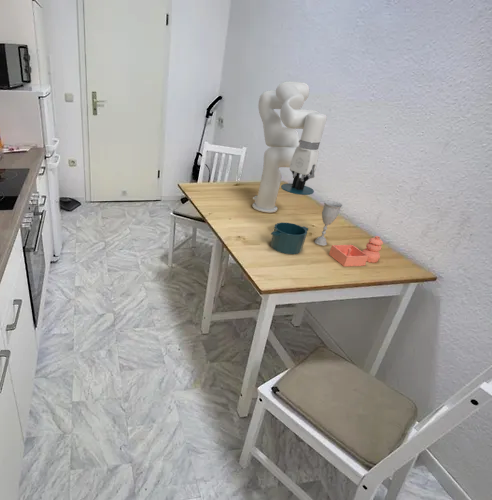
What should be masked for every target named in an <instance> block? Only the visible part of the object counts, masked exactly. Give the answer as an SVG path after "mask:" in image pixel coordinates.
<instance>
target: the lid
mask: <svg viewBox="0 0 492 500" xmlns="http://www.w3.org/2000/svg"><path fill="white" fill-rule="evenodd" d="M299 181H301V177H299V178H297V180H296V184H295V187H294V188H292V182H291V183H290V182H289V183H283V184H280V189H282V190H283V191H284V192H287V193H290V194H294V195H300V196H309V195H313V194H314V193H315V190H314V189H313V188H312V187H309V186H307V185H305V186H304V189H303V190H297V187H298V184H299Z"/></svg>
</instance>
